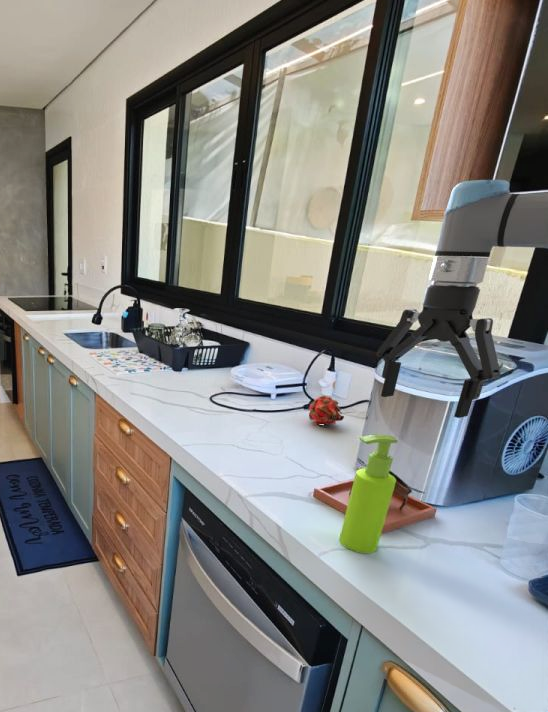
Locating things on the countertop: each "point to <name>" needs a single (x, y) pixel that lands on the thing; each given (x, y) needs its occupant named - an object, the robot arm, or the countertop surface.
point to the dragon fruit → (325, 411)
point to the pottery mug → (399, 489)
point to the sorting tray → (395, 517)
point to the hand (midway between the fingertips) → (421, 405)
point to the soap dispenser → (369, 498)
